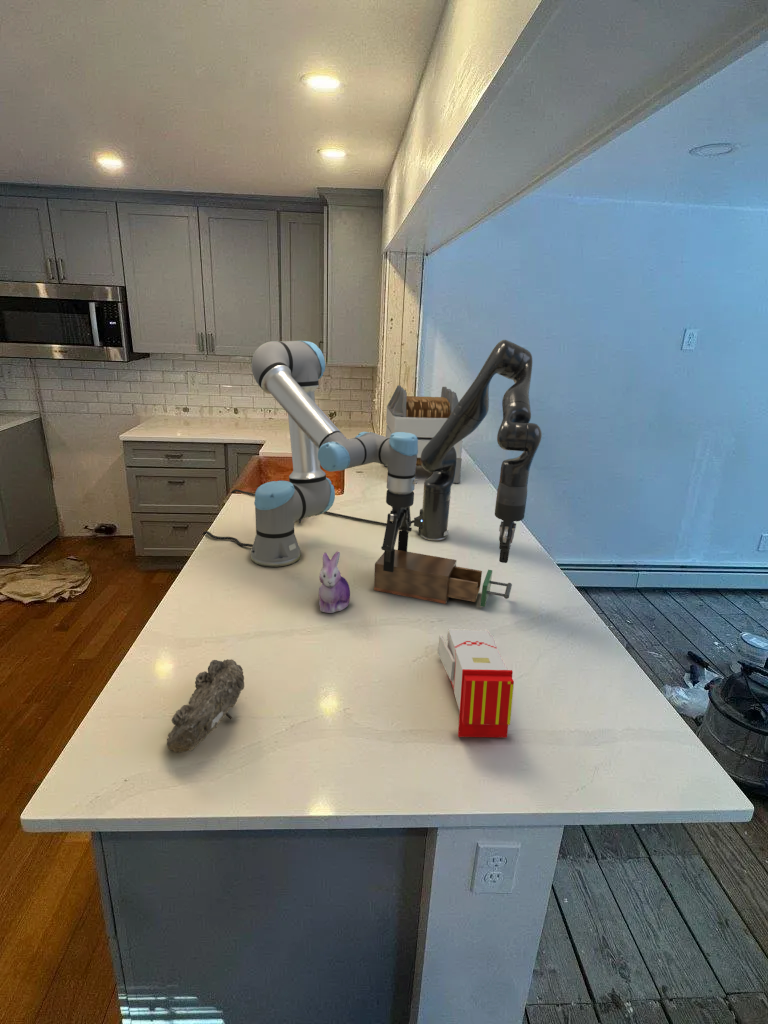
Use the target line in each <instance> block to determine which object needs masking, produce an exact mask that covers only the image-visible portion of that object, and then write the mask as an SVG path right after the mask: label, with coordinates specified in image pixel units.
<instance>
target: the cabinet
mask: <svg viewBox="0 0 768 1024" xmlns="http://www.w3.org/2000/svg"><path fill="white" fill-rule="evenodd" d="M394 550H395V556H394V571H393V572H388V571H383V567H384V552H383V553H382V554H381V555H380V557H379V558H378V559H377V560H376V562H375V563H374V575H373V576H374V577H373V591H376V592H382V593H387V594H392V595H397V596H402V597H408V598H411V599H412V598H413V599H418V600H423V601H430V602H434V603H439V604H444V605H447V602H448V600H449V599H450V597H447V592H448V581H449V577H450V575H451V573H452V571H453V569H454V567H455V566H457V559H455V558H454V559H453V558H447V557H442V556H435V555H429V554H423V553H417V552H411V551H407V552H406V551H401V550H398V549H395V548H394Z"/></svg>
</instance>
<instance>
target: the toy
mask: <svg viewBox="0 0 768 1024" xmlns="http://www.w3.org/2000/svg"><path fill="white" fill-rule="evenodd" d="M446 640H447V643H446V641H445V639H444V636H443V635H442V634H439V637H438V646H437V656H438V657H439V659H440V661H441V663H442V666H443V668H444V670H445V672H446V674H447V677H448V679H449V681H450V684H451V687H452V690H453V693H454V697H455V701H456V705H457V708H458V711H459V714H458V715H459V716H458V730H457V731H458V732H457V737H458V738H508V731H509V726H510V725H511V717H512V707H513V697H514V696H513V695H514V684H515V680H514V679H513V673H514V671H513V670H512V669H508V667H507V665H506V662H505V661H504V659H503V658H502V655H501V653H500V651H499V649H498V647H497V643H496V639H495V637H494V635H493V634H491V632H490V631H489V629H467V628H466V629H465V628H463V629H461V628H460V629H459V628H448V630H447V639H446Z"/></svg>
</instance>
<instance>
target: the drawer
mask: <svg viewBox="0 0 768 1024" xmlns="http://www.w3.org/2000/svg"><path fill="white" fill-rule="evenodd" d="M482 576H483V570H481V569H480V570H479V569H473V568H469V567H462V566H458V565H456V566H455V567H454V569H453V571H452V573H451V575H450V577H449V581H448V592H447V597H449V598H451V599H456V600H461V601H467V602H472V603H476V602H477V599H478V596H479V593H480V591H481V595H480V604H479V605H480V607H484V608H485V607H486V604H487V601H488V598H489V595H493V596H498V597H502V598H504V599H505V600H509V598H510V595H511V591H512V586H513V583H511V582H507V583H505V582H499V581H494V580H492V577H493V570H492V569H487V572H486V574H485V577H484V580H483V583H482ZM481 585H482V586H481ZM492 585H497V586H503V587H505V591H504V593H502V592H496V591H491V586H492Z"/></svg>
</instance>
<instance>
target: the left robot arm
mask: <svg viewBox="0 0 768 1024" xmlns="http://www.w3.org/2000/svg"><path fill="white" fill-rule="evenodd" d="M250 367H251V373H252V376H253V378H254V380H255V382H256V384H257V385H258V387H260V389H261V390H262V391H263V392H264V393H265V394H268V395H271V396H272V397H273V398H274V400H275V401H276V402H277V403H278V404H279V405H280V406H281V408H282V409H283V410H284V411H285V412H286V413H287V419H288V427H289V428H288V429H289V439H290V449H291V459H292V460H291V461H292V472H290V474H289V475H288V480H277V481H276V480H272V481H267V482H265V483H262V484H261V485H259V486H258V487H257V488H256V490H255V492H254V494H255V496H254V502H253V503H254V504H253V505H254V507H255V508H254V513H255V537H254V540H253V543H246V542H245V543H244V542H240V540H239V539H238V538H236V537H233V536H217V535H214V534H213V533H211V532H210V531H208V530H205V531H204V532H202V535H203V536H205V535H208V536H209V537H210V538H212V539H213V540H221V541H222V540H223V541H225V540H230V541H234V542H235V543H236V544H237V545H239V546H241V547H249V548H251V549H250V559H251V561H252V562H253V563H254V564H256V565H259V566H261V567H268V568H272V567H273V568H278V567H285V566H289V565H293V564H294V563H296V562H298V561H299V560H300V559H301V556H302V555H301V551H302V550H301V547H300V546H299V543H298V539H297V536H296V534H295V522H299V520H301V521H302V520H305V519H308V518H312V517H315V516H316V517H317V516H319V515H322V514H325V513H324V512H326V511H327V512H329V510H331V508H332V506H333V505H334V502H335V498H336V490H335V486H334V484H332V481H331V479H330V478H328V477H327V473H326V472H329V473H330V472H332V473H333V472H340V471H345V470H347V469H352V468H355V467H359V466H364V465H369V464H372V463H374V464H375V463H376V464H380V465H383V466H384V465H387V466H388V467H387V466H386V467H387V475H386V478H387V479H386V489H387V490H386V494H385V503H386V504H387V505H388V506H390V507H391V510H390V512H388V513H387V517H386V523H387V525H385V526H386V527H385V531H384V536H383V542H382V545H381V547H380V549H381V551H383V553H384V567H383V571H388V572H393V571H394V556H395V550H396V549H395V546H396V543H397V550H401V551H406V552H408V542H409V532H412V529H413V528H412V527H411V526H412V524H411V521H412V517H411V507H412V506H413V505H414V503H415V502H414V500H415V485H416V484H417V483H418V481H417V480H416V469H417V466H416V462H417V454H418V439H417V436H416V435H414V434H412V433H405V432H395V433H392V434H391V435H390V438H389V437H386V435H380V434H378V433H376V432H371V431H369V432H368V431H361V432H359V433H358V434H357V435H356V436H355V437H352V438H347V437H346V436H345V434H344V433H343V432H341V430H340V429H339V428H338V427H337V426H336V425H335V423H333V421H332V420H331V419H330V418H329V417H328V416H327V415H326V414H325V412H324V411H323V410H322V409H321V408H320V407H319V405H318V404H317V403H316V396H315V392H316V390H317V389H318V388H319V387H320V384H319V383H320V382H319V380H320V379H321V378H322V377H323V376H324V373H325V372H326V360H325V356H324V354H323V352H322V350H321V348H320V347H319V346H317V344H316V343H314V342H312V341H308V340H307V341H306V340H282V341H281V340H278V341H277V340H272V341H267V342H264V343H262V344H261V345H259V347H257V348H256V350H255V351H254V353H253V355H252V358H251V365H250ZM324 470H325V471H326V472H325V471H324ZM399 528H400V530H399ZM397 539H398V541H397ZM394 549H395V550H394Z"/></svg>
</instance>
